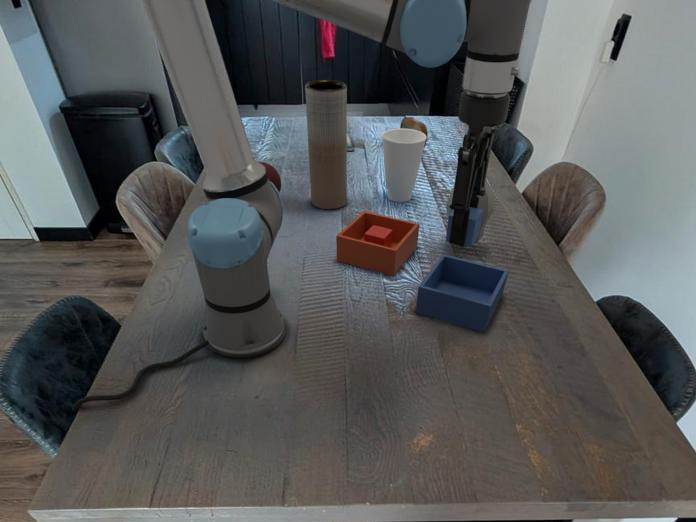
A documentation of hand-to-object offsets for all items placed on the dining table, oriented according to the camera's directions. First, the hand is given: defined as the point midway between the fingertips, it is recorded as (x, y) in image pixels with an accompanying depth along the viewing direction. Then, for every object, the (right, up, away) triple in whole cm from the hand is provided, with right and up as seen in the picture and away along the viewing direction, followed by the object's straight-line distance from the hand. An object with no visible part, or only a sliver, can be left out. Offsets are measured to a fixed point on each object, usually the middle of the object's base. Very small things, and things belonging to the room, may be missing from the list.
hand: (461, 236), depth 89 cm
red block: (-15, +5, +24) cm, 29 cm away
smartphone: (-26, +61, +77) cm, 101 cm away
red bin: (-15, +5, +25) cm, 29 cm away
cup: (-8, +29, +48) cm, 56 cm away
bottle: (+6, +8, +28) cm, 30 cm away
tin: (-1, +60, +77) cm, 97 cm away
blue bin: (+2, -10, +11) cm, 15 cm away
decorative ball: (-46, +26, +43) cm, 68 cm away
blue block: (0, 0, 0) cm, 0 cm away
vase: (-28, +26, +44) cm, 58 cm away
